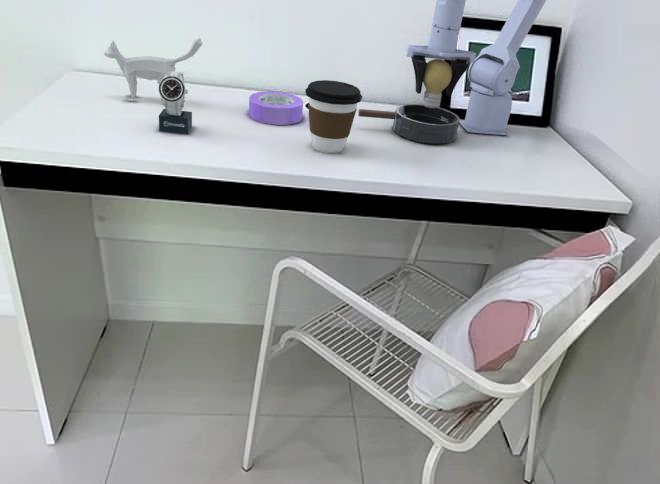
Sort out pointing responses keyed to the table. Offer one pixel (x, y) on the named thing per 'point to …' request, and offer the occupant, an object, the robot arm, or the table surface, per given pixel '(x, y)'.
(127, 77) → the cat figurine
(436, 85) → the light bulb
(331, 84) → the coffee cup
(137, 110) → the table surface
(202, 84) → the table surface
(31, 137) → the table surface
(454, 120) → the pan
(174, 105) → the watch
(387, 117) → the pan handle
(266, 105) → the tape roll
